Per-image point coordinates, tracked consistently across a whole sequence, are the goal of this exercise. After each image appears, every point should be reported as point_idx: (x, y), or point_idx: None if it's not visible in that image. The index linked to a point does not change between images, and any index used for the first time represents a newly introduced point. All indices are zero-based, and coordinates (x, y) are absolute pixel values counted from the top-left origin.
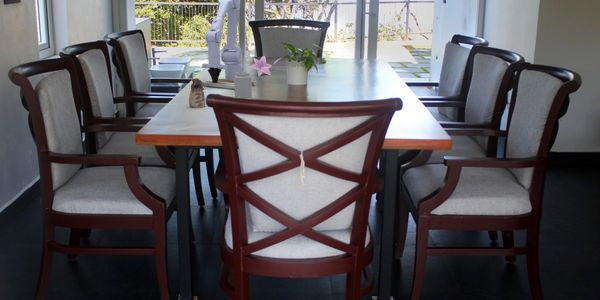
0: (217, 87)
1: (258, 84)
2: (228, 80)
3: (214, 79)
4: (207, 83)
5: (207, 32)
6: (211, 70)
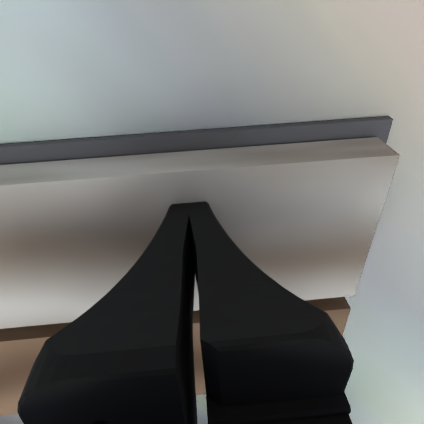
0: (72, 145)
1: (5, 420)
2: (200, 371)
3: (158, 231)
4: (276, 160)
5: None
6: (163, 345)
